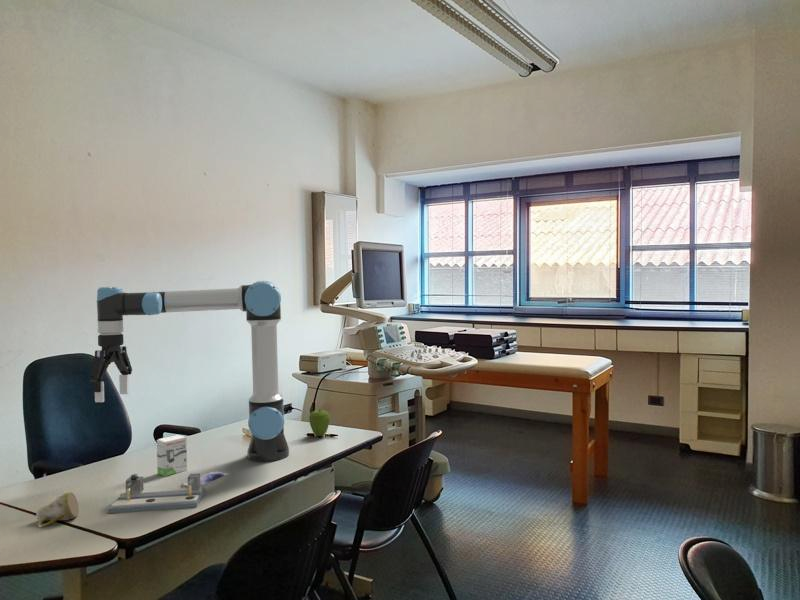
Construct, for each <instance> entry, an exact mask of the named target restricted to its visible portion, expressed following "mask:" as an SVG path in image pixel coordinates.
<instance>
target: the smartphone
mask: <svg viewBox="0 0 800 600" xmlns="http://www.w3.org/2000/svg"><path fill="white" fill-rule="evenodd" d="M228 476H230V473H227V472H222V471H219V470H218V471H217V470H213V471H210V472H207V473H205V474H203V475H200V485H201V486H200V487H206V486H207V485H210V484H212V483H214V482H217V481H219V480H221V479H224V478H226V477H228ZM180 487H181V488H188V481H186V482H183V483H181V485H180Z"/></svg>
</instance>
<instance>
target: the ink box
mask: <svg viewBox="0 0 800 600" xmlns="http://www.w3.org/2000/svg"><path fill="white" fill-rule="evenodd" d="M187 438H188V437H187V436H184V435H181V434H175V435H171V436H167V437H161V438H158V439H157V440H156V459H157V460H156V461H157V466H156V467H157V475H160V476H163V477H168V476H171V475H175V474H178V473H182V472H184V471H188V448H187V447H188V445H187V444H188V443H187V441H188V440H187Z"/></svg>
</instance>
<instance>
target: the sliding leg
mask: <svg viewBox="0 0 800 600" xmlns="http://www.w3.org/2000/svg"><path fill="white" fill-rule="evenodd" d="M142 491H145V490H144V476H139V474H138V473H134V474H131V475H130V476H129V477H128V478H126V480H125V492H126V494H127V501H130V494H138V493H141V492H142Z"/></svg>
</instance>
